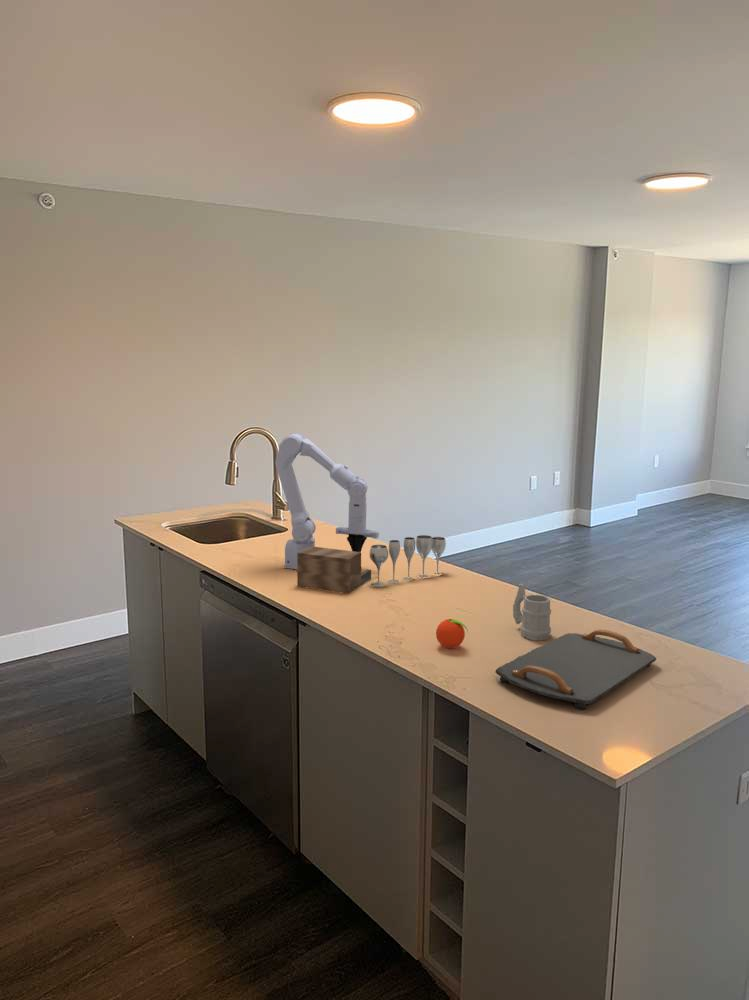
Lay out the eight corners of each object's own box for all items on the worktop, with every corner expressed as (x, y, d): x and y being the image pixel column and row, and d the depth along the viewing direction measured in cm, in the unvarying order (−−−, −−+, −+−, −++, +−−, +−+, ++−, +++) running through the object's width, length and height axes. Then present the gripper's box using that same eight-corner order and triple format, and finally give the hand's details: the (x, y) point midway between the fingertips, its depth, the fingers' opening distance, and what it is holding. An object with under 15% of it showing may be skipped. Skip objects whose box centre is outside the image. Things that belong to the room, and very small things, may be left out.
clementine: (472, 645, 187) (473, 617, 185) (463, 655, 181) (464, 626, 179) (441, 640, 190) (441, 612, 189) (431, 649, 184) (432, 621, 182)
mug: (535, 643, 189) (537, 596, 187) (502, 629, 199) (504, 584, 196) (557, 637, 193) (560, 591, 191) (523, 623, 203) (526, 580, 201)
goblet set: (437, 571, 252) (438, 531, 249) (448, 575, 247) (449, 535, 245) (365, 583, 237) (366, 541, 234) (375, 588, 232) (376, 545, 230)
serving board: (582, 720, 150) (584, 690, 149) (484, 685, 165) (485, 658, 164) (663, 665, 178) (665, 639, 176) (572, 639, 193) (574, 616, 192)
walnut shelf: (297, 586, 233) (297, 552, 231) (322, 572, 248) (322, 540, 246) (348, 593, 226) (348, 559, 224) (371, 579, 241) (371, 546, 240)
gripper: (382, 516, 250) (381, 557, 252) (342, 512, 256) (342, 551, 258) (374, 520, 244) (373, 562, 246) (333, 516, 249) (332, 556, 252)
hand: (356, 557), depth 252 cm, fingers closed
